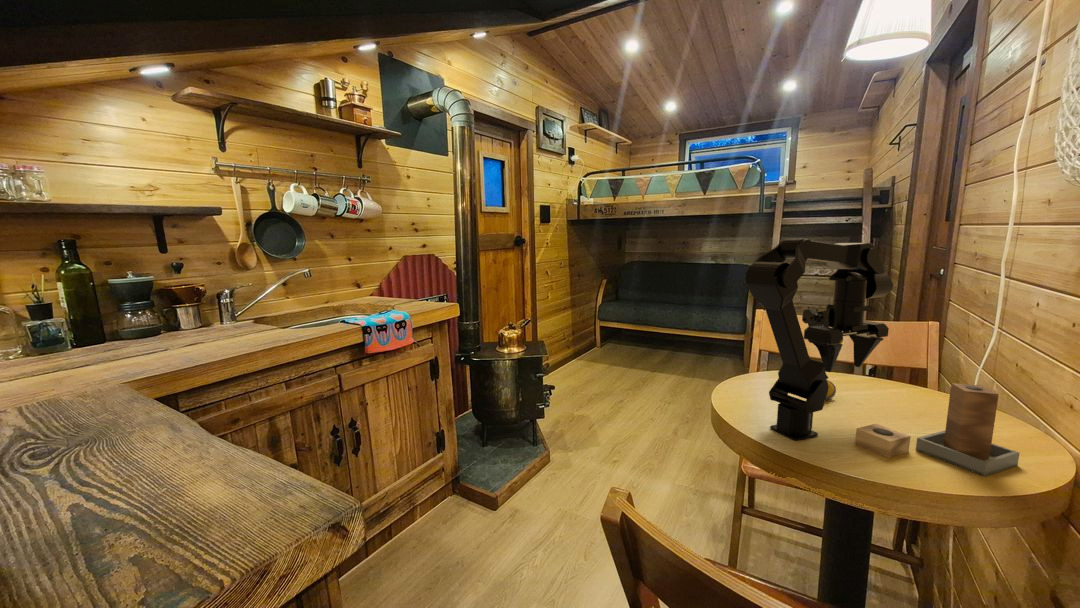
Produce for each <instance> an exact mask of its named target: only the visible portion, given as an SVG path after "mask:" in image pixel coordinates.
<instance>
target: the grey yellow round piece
mask: <svg viewBox="0 0 1080 608" xmlns="http://www.w3.org/2000/svg"><path fill="white" fill-rule="evenodd" d="M827 382H828V393H827V396H826V399H825V401H826V400H830V399H832V398H834V396H835V395H836V393H837V388H836V385H835V384H834V383H833V381H830V380H829V379H827Z"/></svg>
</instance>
